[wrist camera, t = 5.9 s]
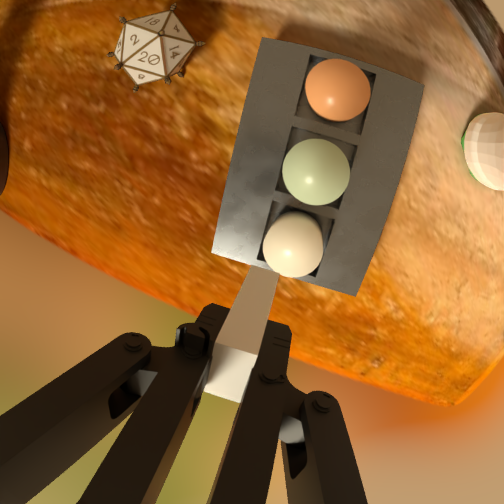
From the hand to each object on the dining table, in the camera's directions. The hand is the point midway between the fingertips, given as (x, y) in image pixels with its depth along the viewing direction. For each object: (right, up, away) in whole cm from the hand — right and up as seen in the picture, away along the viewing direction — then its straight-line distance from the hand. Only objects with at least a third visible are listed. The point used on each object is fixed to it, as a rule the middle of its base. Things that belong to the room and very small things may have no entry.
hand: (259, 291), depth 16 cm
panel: (+6, +10, +11) cm, 16 cm away
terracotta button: (+6, +15, +6) cm, 17 cm away
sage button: (+5, +9, +8) cm, 12 cm away
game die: (-9, +22, +10) cm, 26 cm away
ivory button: (+3, +3, +11) cm, 12 cm away
